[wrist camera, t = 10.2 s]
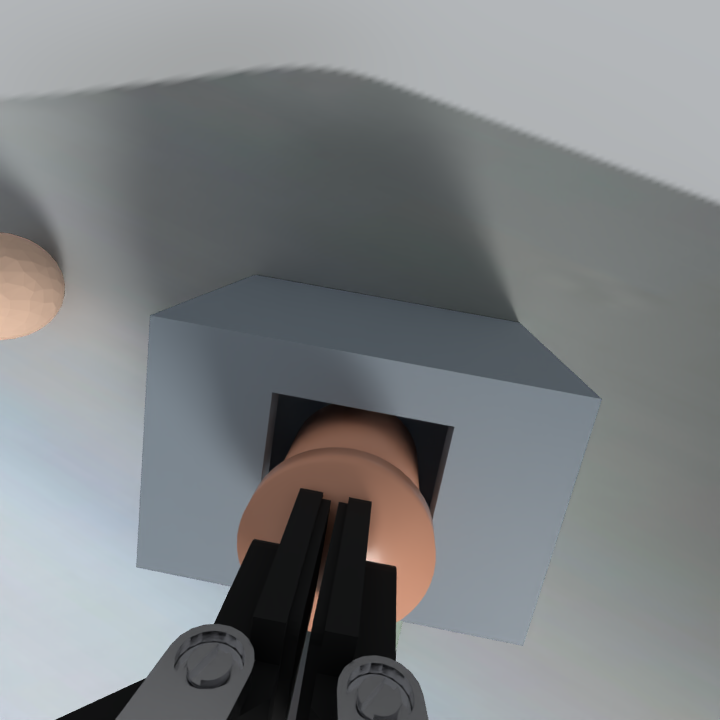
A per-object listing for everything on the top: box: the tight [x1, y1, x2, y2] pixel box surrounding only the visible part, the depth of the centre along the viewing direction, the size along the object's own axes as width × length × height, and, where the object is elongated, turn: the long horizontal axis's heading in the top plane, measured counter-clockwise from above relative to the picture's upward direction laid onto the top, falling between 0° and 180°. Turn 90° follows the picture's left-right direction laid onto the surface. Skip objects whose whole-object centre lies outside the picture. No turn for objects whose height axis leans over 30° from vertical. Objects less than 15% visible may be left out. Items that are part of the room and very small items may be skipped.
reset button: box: [237, 404, 436, 632], centre depth 14 cm, size 5×5×5 cm
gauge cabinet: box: [136, 275, 602, 646], centre depth 19 cm, size 13×8×10 cm, turn 80°
